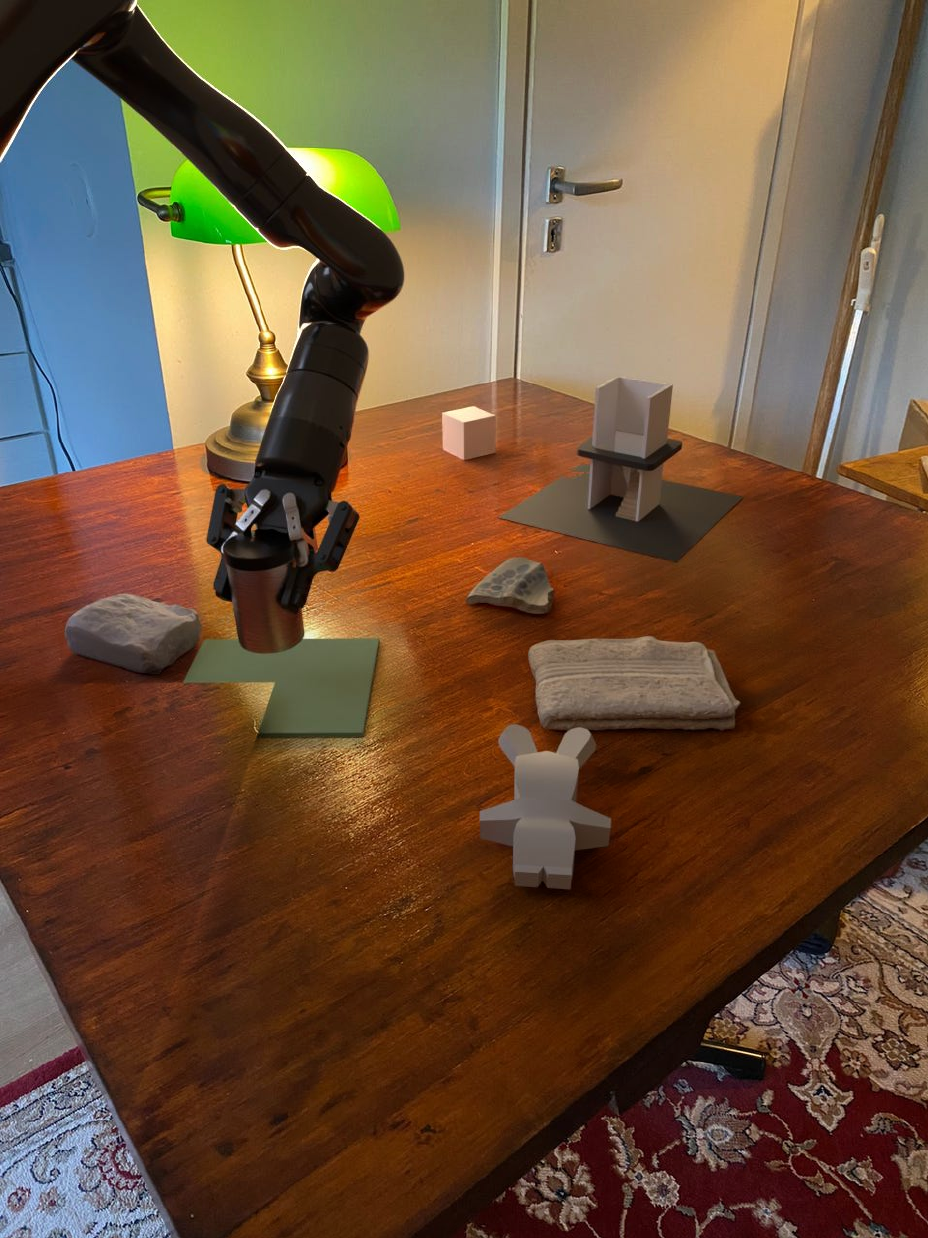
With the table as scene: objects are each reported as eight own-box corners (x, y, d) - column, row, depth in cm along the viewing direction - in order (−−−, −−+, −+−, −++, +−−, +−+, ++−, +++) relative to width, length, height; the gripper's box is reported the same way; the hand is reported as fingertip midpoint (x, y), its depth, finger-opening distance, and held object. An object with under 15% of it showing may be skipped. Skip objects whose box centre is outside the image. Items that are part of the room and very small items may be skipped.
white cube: (464, 460, 140) (463, 422, 137) (442, 449, 144) (441, 412, 141) (495, 452, 143) (495, 415, 140) (473, 442, 147) (473, 405, 144)
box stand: (497, 517, 120) (498, 395, 112) (581, 463, 138) (588, 354, 130) (676, 561, 108) (691, 428, 100) (743, 496, 126) (761, 378, 118)
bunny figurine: (473, 853, 61) (489, 704, 73) (474, 900, 64) (489, 750, 76) (615, 862, 60) (608, 710, 72) (609, 909, 63) (603, 756, 75)
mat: (158, 738, 79) (157, 733, 79) (204, 643, 93) (204, 639, 93) (363, 737, 79) (363, 732, 79) (379, 642, 93) (379, 637, 93)
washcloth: (743, 733, 79) (748, 704, 77) (538, 737, 79) (539, 708, 77) (708, 660, 89) (712, 633, 88) (526, 664, 89) (527, 637, 88)
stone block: (130, 626, 100) (57, 654, 91) (129, 585, 98) (55, 609, 89) (217, 653, 95) (149, 685, 87) (218, 611, 94) (148, 639, 85)
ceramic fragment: (543, 613, 94) (460, 580, 98) (538, 637, 96) (457, 604, 100) (584, 571, 102) (506, 542, 106) (579, 594, 104) (503, 565, 108)
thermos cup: (231, 654, 81) (214, 559, 76) (245, 620, 86) (231, 529, 82) (299, 654, 81) (287, 558, 76) (309, 619, 86) (299, 528, 81)
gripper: (220, 406, 82) (163, 579, 79) (363, 421, 78) (310, 606, 74) (259, 444, 89) (208, 604, 86) (392, 459, 85) (344, 630, 81)
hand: (256, 604), depth 80 cm, fingers closed on thermos cup, 6 cm apart
